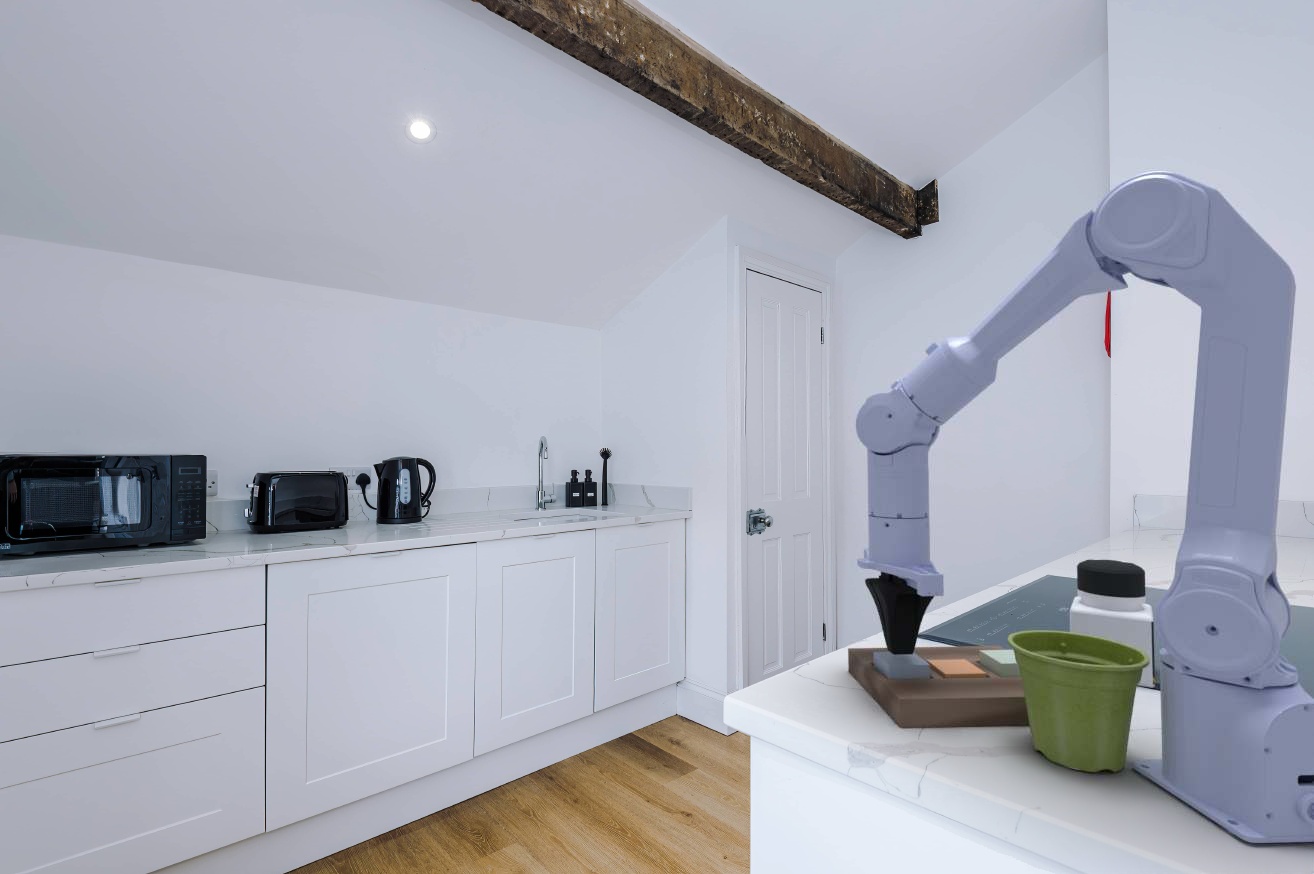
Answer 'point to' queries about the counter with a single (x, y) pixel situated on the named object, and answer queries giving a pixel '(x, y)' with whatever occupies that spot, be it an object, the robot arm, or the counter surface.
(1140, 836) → the counter surface
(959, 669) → the button terracotta
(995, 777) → the counter surface
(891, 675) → the button slate
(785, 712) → the counter surface
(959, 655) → the button panel
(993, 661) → the button sage
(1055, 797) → the counter surface
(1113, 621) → the medicine bottle
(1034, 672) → the plant pot
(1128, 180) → the robot arm
